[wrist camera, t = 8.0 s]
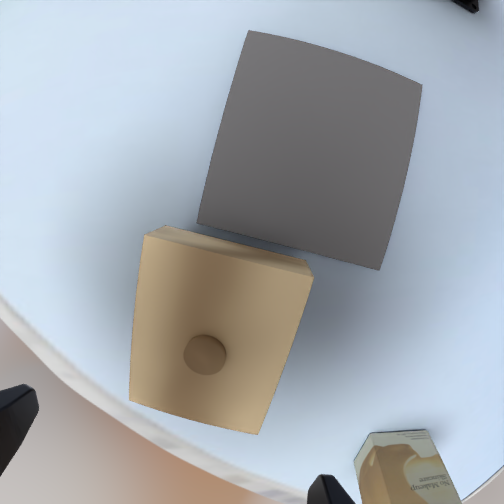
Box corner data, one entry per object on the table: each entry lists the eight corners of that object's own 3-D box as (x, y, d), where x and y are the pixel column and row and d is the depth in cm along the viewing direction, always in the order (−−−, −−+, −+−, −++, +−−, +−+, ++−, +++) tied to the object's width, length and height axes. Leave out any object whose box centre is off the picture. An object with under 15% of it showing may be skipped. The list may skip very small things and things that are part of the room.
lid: (305, 260, 15) (316, 281, 12) (259, 402, 17) (257, 441, 14) (165, 225, 15) (139, 236, 11) (145, 372, 17) (125, 405, 13)
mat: (419, 87, 15) (422, 85, 15) (376, 268, 18) (379, 270, 17) (248, 33, 15) (248, 30, 14) (198, 222, 18) (196, 223, 17)
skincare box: (427, 427, 21) (478, 527, 9) (408, 458, 22) (445, 553, 10) (366, 431, 21) (403, 553, 9) (348, 462, 22) (373, 573, 10)
